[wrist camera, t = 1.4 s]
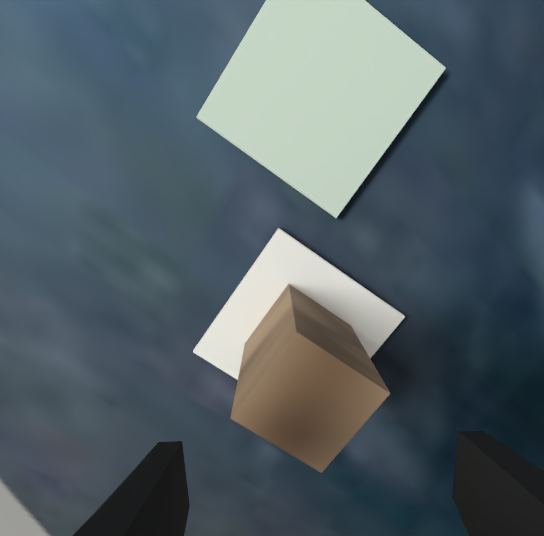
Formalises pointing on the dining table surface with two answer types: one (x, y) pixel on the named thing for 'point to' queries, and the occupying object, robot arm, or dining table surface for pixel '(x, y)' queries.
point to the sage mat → (320, 94)
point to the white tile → (307, 279)
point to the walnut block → (306, 381)
